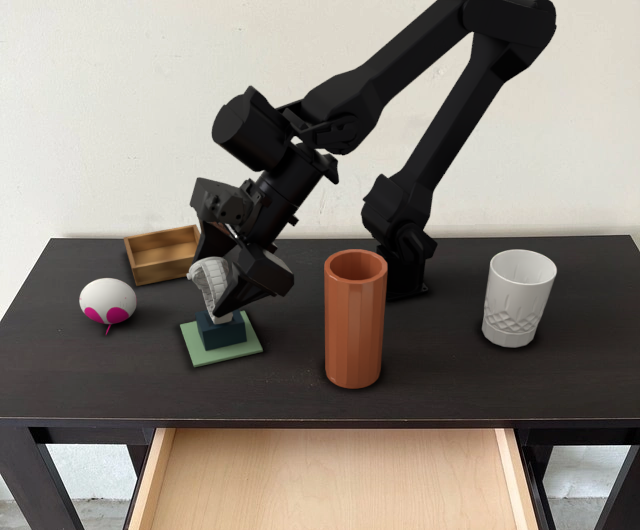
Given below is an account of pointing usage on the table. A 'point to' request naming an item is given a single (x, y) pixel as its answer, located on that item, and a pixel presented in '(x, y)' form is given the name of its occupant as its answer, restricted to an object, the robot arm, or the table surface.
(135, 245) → the wooden box
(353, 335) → the vase
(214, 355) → the mat
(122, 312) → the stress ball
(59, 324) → the table surface
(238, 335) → the watch
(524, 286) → the white cup
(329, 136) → the robot arm
